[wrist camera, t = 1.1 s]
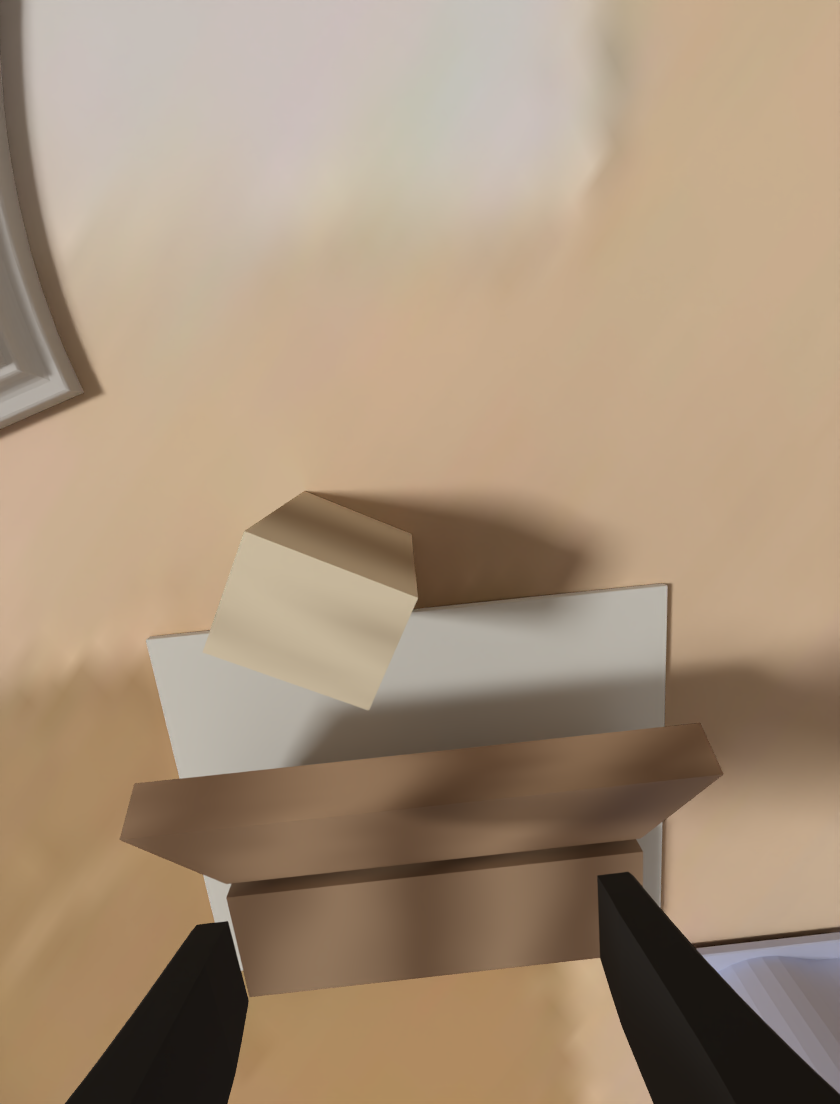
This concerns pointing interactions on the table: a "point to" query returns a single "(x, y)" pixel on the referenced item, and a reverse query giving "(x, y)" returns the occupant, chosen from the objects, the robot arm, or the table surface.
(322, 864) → the board
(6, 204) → the molding
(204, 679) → the underlay
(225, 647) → the block
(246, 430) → the table surface
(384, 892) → the laid plank
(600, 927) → the robot arm
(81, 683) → the table surface
